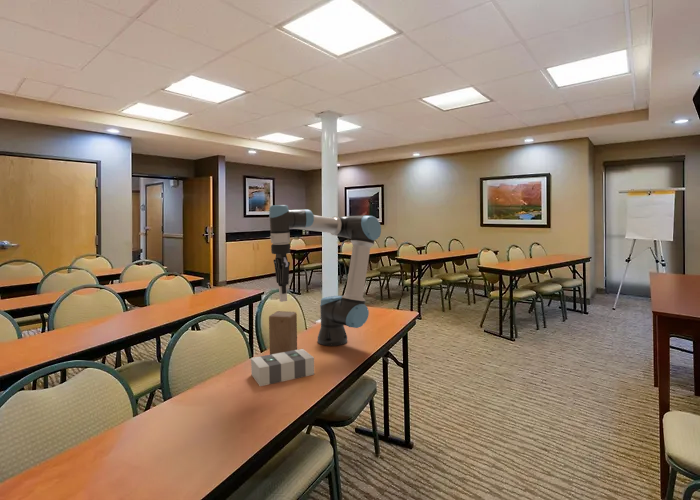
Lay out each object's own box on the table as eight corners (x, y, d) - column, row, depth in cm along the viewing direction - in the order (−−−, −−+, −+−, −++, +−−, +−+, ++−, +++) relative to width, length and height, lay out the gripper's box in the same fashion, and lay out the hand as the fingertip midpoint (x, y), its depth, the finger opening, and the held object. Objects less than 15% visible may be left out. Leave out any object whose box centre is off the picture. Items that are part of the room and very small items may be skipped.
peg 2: (297, 368, 159) (297, 352, 158) (301, 372, 155) (300, 355, 155) (288, 370, 157) (288, 353, 156) (291, 374, 153) (291, 356, 153)
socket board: (302, 364, 164) (302, 348, 164) (314, 374, 154) (313, 357, 153) (251, 375, 154) (251, 357, 153) (259, 386, 143) (259, 368, 143)
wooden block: (290, 361, 168) (289, 316, 166) (268, 360, 170) (267, 315, 168) (298, 354, 177) (297, 311, 176) (277, 352, 179) (276, 310, 178)
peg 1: (274, 373, 154) (273, 356, 153) (277, 377, 150) (276, 359, 150) (264, 375, 152) (263, 358, 151) (267, 379, 148) (266, 361, 148)
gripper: (266, 243, 158) (269, 299, 161) (276, 245, 147) (280, 305, 150) (283, 242, 162) (286, 296, 164) (295, 243, 151) (298, 302, 153)
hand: (283, 300), depth 157 cm, fingers closed
